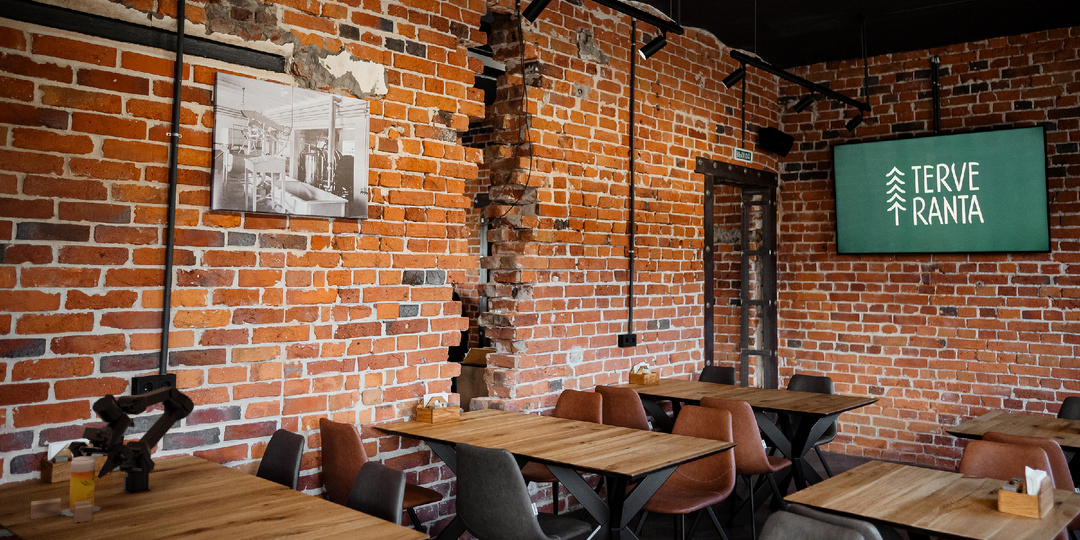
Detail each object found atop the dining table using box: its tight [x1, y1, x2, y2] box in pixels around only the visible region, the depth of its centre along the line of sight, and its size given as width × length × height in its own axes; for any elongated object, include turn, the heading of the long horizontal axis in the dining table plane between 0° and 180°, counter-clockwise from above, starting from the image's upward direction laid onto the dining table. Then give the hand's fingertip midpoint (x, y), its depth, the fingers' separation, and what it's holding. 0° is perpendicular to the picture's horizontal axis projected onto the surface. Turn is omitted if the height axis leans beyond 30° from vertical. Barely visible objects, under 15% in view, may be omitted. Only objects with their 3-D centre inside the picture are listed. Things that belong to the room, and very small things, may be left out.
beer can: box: [69, 455, 96, 512], centre depth 222 cm, size 6×6×15 cm
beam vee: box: [30, 497, 101, 524], centre depth 219 cm, size 15×20×4 cm
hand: (85, 476), depth 223 cm, fingers open, 9 cm apart
